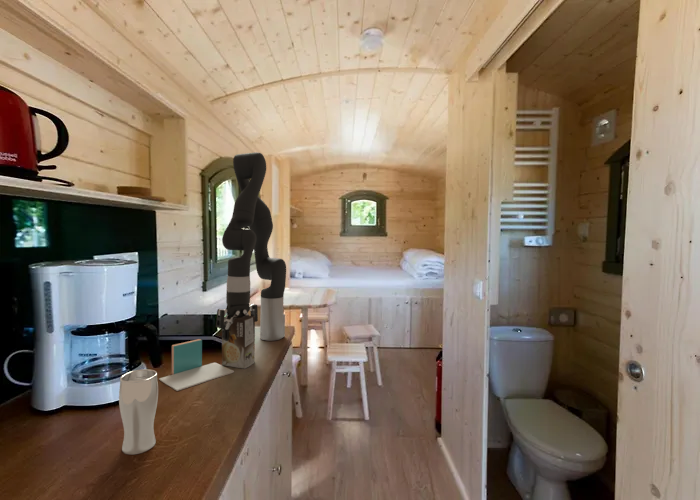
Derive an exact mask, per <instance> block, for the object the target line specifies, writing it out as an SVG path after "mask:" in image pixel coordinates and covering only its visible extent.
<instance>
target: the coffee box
mask: <svg viewBox="0 0 700 500" xmlns="http://www.w3.org/2000/svg"><path fill="white" fill-rule="evenodd" d="M225 319H228V320H230V319H231V318H230V317H229V318H226V316H224V320H225ZM227 323H228V322H227ZM255 324H256V322H255V316H251V315H249V316H243V317H238V318H236V319H234V322H233V323H232V324H231V325H230V327H229V328H228V329H229V340H228V341H225V340H223V339H222V338H221V365H222V366H224V367H230V368H239V369H247V368H249V367H250V366H252V365H254V364H255V359H256V358H255V357H256V355H255V350H256V349H255V345H256V344H255V343H256V342H255V341H256V339H255V336H256V335H255V334H256V333H255V332H256V331H255V330H256V328H255V327H256V325H255Z"/></svg>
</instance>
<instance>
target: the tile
mask: <svg viewBox="0 0 700 500" xmlns="http://www.w3.org/2000/svg"><path fill="white" fill-rule="evenodd" d="M200 366H203V339H200V338H198V339H194V340H190V341H189V340H188V341H185V342H181V343H175V344H172V345H171V375H173V374H176V373H180V372H183V371H187V370H190V369H194V368H197V367H200Z"/></svg>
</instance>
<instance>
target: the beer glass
mask: <svg viewBox="0 0 700 500" xmlns="http://www.w3.org/2000/svg"><path fill="white" fill-rule="evenodd" d="M119 380H120V381H119V389H118V390H119V391H118V393H119V394H118V403H119V405H118V406H119V411H120V417H121V421H122V427H123V433H124V434H123V442H122V447H121V451H122V453H123V454H125V455H129V456H130V455H132V456H133V455H139V454H143V453H145V452H147V451H149V450H150V449H152V448H153V447H154V446H155V445H156V442H157V440H156V436H155V430H154V424H155V416H156V411H157V407H158V400H159V383H158V372H157V371H156V370H154V369H149V368H148V369H146V368H145V369H136V370H132V371H129V372H126V373H124V374H122V375H121V376H120V378H119Z"/></svg>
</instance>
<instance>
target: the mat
mask: <svg viewBox="0 0 700 500" xmlns="http://www.w3.org/2000/svg"><path fill="white" fill-rule="evenodd" d="M233 373H235V370H233V369H230V368H229V367H227V366H224V365H222V364H219V363H217V362H210V363H208V364H204V365H202V366H200V367H197V368H194V369H190V370H187V371H183V372H180V373H176V374H171V375H170V374H169V375H167V376H163V377H160V378H158V380H159V381H160V382H162V383H164V385H166V386H168V387H170V388H171V389H172V390H174V391H176V392H179V391H182V390H185V389H188V388H191V387H195V386H197V385H200V384H203V383H207V382H209V381H212V380H214V379H215V380H216V379H218V378H221V377H224V376H227V375H231V374H233Z"/></svg>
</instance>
